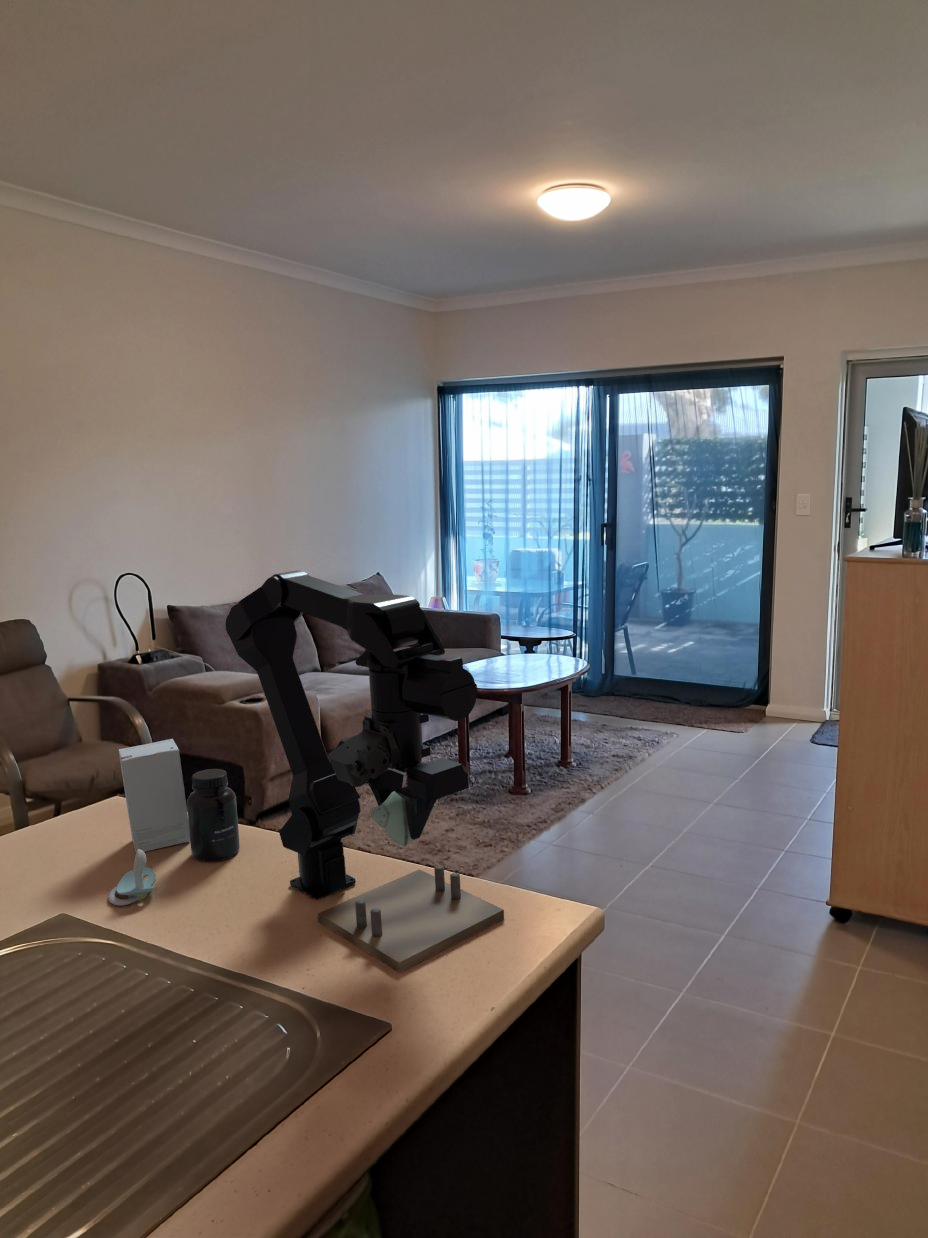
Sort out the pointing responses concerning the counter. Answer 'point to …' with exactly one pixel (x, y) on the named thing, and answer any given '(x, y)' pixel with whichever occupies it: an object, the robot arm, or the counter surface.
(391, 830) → the grey-green curved shell
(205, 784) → the supplement bottle
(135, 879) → the pacifier
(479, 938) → the counter surface
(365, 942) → the pin tray
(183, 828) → the skincare box
